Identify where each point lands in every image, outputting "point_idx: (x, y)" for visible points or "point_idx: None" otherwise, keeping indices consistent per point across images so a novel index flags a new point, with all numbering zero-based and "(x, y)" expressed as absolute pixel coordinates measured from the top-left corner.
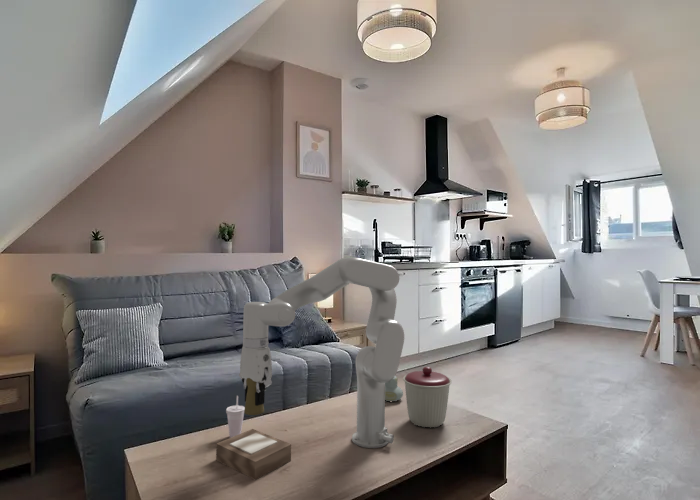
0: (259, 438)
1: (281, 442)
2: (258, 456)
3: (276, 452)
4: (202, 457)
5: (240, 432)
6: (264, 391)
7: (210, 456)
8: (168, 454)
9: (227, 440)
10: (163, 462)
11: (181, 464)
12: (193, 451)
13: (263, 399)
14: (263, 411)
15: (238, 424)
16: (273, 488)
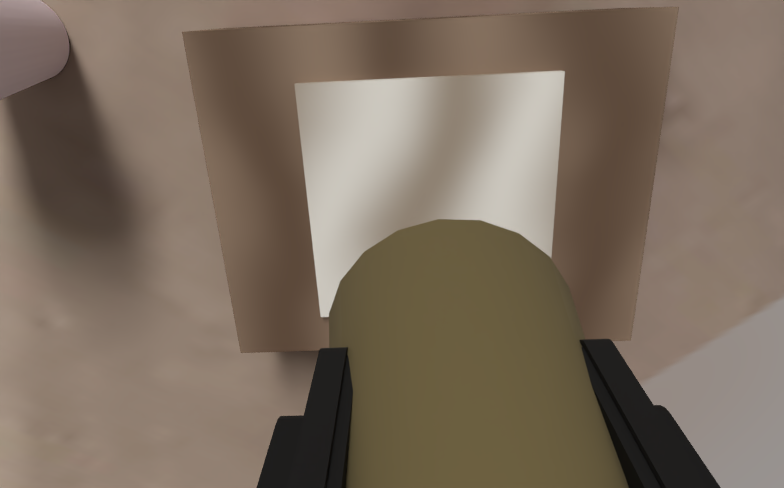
0: (406, 133)
1: (587, 42)
2: (597, 290)
3: (651, 169)
4: (186, 327)
5: (42, 19)
6: (702, 483)
7: (203, 296)
8: (43, 410)
9: (246, 286)
10: (115, 454)
11: (189, 418)
12: (85, 323)
13: (672, 429)
14: (564, 283)
15: (12, 57)
16: (730, 279)
